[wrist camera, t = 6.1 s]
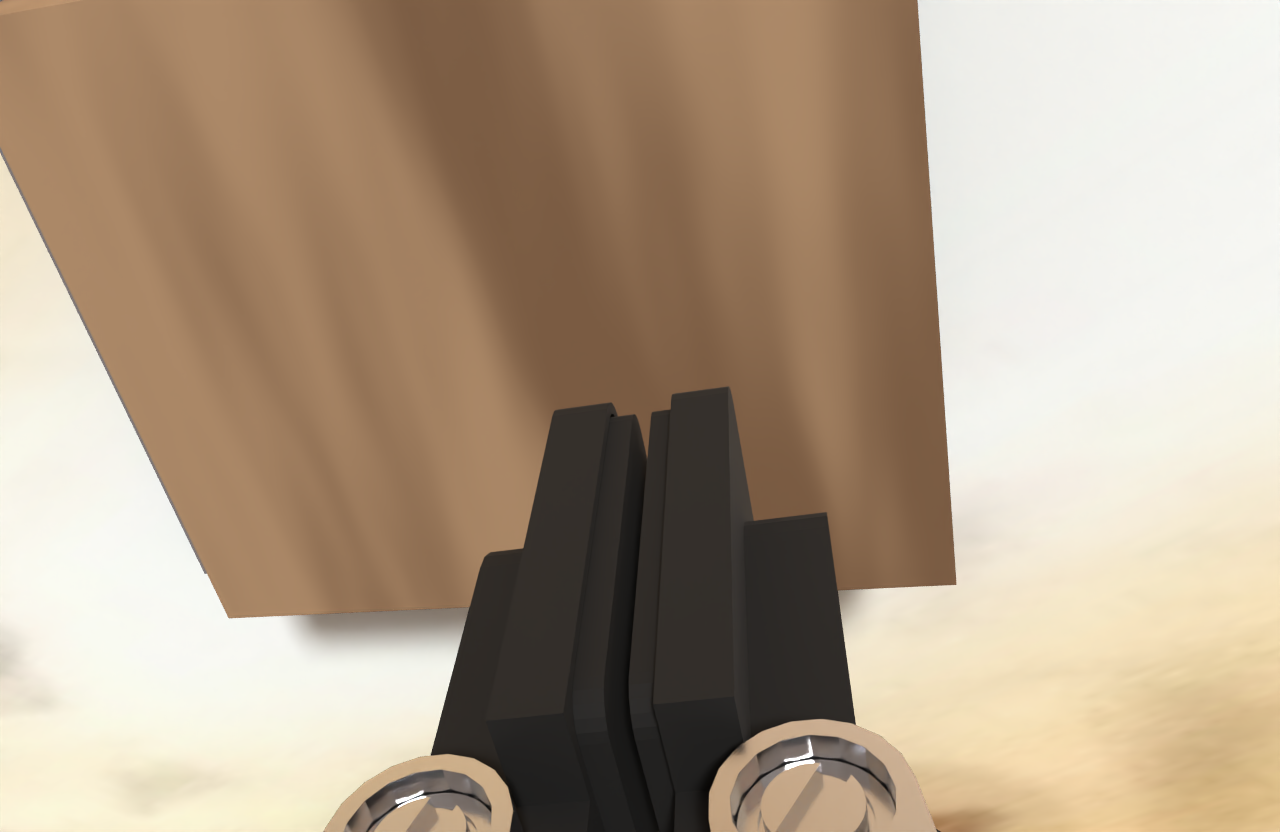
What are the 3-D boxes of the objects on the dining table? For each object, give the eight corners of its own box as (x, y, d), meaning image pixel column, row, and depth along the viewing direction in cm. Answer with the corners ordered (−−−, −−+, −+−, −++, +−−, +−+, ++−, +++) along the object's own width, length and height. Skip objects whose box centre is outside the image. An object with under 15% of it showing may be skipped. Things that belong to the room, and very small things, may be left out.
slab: (907, -153, 12) (-59, 26, 15) (956, 584, 17) (228, 618, 20) (895, -195, 16) (105, -43, 18) (939, 434, 21) (316, 481, 23)
